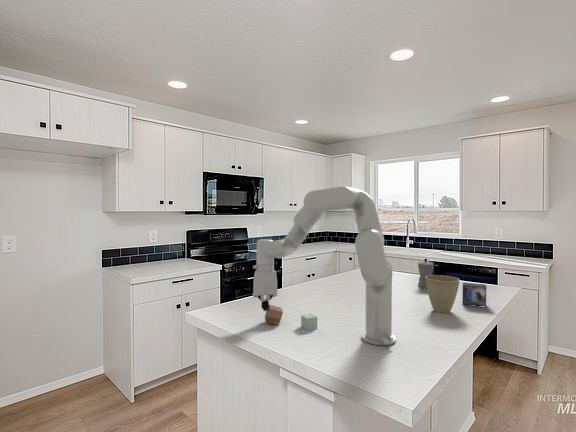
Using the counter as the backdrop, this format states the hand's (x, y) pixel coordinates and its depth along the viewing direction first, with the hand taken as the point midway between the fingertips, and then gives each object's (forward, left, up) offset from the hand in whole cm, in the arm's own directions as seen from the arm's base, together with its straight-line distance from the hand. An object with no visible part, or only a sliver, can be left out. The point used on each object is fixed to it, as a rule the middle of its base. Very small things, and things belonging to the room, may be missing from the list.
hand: (265, 310), depth 144 cm
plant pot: (+2, -86, -6) cm, 86 cm away
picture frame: (+8, -108, -6) cm, 108 cm away
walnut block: (0, -3, -5) cm, 6 cm away
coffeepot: (+48, -107, -6) cm, 117 cm away
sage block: (-8, -18, -6) cm, 20 cm away
